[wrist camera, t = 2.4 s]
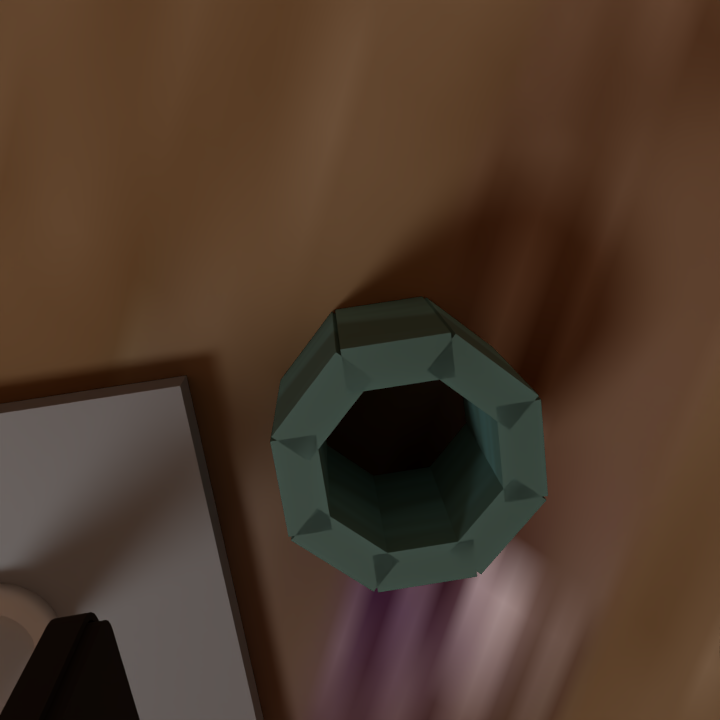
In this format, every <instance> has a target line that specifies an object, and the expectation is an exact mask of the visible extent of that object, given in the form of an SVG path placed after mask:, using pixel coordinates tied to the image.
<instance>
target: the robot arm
mask: <svg viewBox="0 0 720 720" xmlns="http://www.w3.org/2000/svg"><path fill="white" fill-rule="evenodd" d="M0 720H140V719H139V715H138V712H137V709H136V705H135V702H134V699H133V695H132V692H131V689H130V685H129V682H128V679H127V675H126V672H125V669H124V665H123V662H122V659H121V655H120V652H119V649H118V645H117V642H116V639H115V635H114V632H113V629H112V626H111V624H110V622H109V621H108V620H102V621H99V620H98V617H97V616H96V615H95V613H92V612H88V613H83V614H77V615H71V616H65V617H60V618H54V619H52V620H51V621H50V622H49V623H48V625H47V626H46V628H45V630H44V632H43V634H42V636H41V638H40V640H39V641H38V643H37V645H36V647H35V649H34V651H33V653H32V655H31V657H30V659H29V661H28V662H27V664H26V666H25V668H24V670H23V672H22V674H21V676H20V678H19V680H18V681H17V683H16V685H15V687H14V689H13V691H12V693H11V695H10V697H9V699H8V700H7V702H6V704H5V706H4V708H3V710H2V712H1V714H0Z"/></svg>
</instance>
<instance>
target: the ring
mask: <svg viewBox="0 0 720 720" xmlns="http://www.w3.org/2000/svg"><path fill="white" fill-rule="evenodd" d="M335 311H336V315H335V314H334V313H333V312H331V313H330V315H329V316H328V317H327V319H326V320H325V321H324V323H323V324H322V325H321V327H320V328H319V329H318V331H317V332H316V333H315V335H314V336H313V337H312V339H311V340H310V341H309V343H308V344H307V345H306V347H305V348H304V350H303V351H302V352H301V354H300V355H299V356H298V358H297V359H296V360H295V362H294V363H293V364H292V366H291V367H290V368H289V370H288V371H287V372H286V374H285V375H284V376H283V378H282V379H281V382H280V386H279V392H278V398H277V404H276V410H275V416H274V422H273V428H272V434H271V441H270V443H271V448H272V453H273V458H274V463H275V469H276V474H277V479H278V484H279V489H280V494H281V500H282V505H283V510H284V515H285V520H286V525H287V531H288V536H289V537H290V536H292V538H291V541H293V542H295V543H296V544H298V545H299V546H301V547H303V548H304V549H306V550H308V551H309V552H311V553H312V554H314V555H316V556H317V557H319V558H320V559H322V560H324V561H325V562H327V563H328V564H330V565H332V566H333V567H335V568H337V569H338V570H340V571H341V572H343V573H345V574H346V575H348V576H349V577H351V578H353V579H354V580H356V581H358V582H359V583H361V584H362V585H364V586H366V587H367V588H369V589H370V590H372V591H374V590H375V589H376V588H378V592H383V591H389V590H396V589H402V588H408V587H414V586H421V585H427V584H433V583H439V582H446V581H452V580H458V579H464V578H471V577H477V572H479V573H480V574H482V573H483V572H484V570H485V569H486V568H487V567H488V566H489V565H490V564H491V562H492V561H493V560H494V559H495V558H496V557H497V556H498V554H499V553H500V552H501V551H502V550H503V549H504V548H505V547H506V545H507V544H508V543H509V542H510V541H511V540H512V539H513V537H514V536H515V535H516V534H517V533H518V532H519V531H520V529H521V528H522V527H523V526H524V525H525V524H526V523H527V521H528V520H529V519H530V518H531V517H532V516H533V515H534V513H535V512H536V511H537V510H538V509H539V508H540V507H541V506H542V504H543V503H544V502H545V501H546V499H545V498H544V496H548V492H547V478H546V463H545V449H544V435H543V421H542V407H541V399H540V398H539V397H538V396H539V395H538V394H537V393H536V392H535V391H534V390H533V389H532V388H531V387H530V386H529V385H528V384H527V383H526V382H525V381H524V379H523V378H522V377H521V376H520V375H519V374H518V373H517V372H516V371H515V370H514V369H513V368H512V367H511V366H510V365H509V364H508V363H507V362H506V361H505V360H504V359H503V358H502V356H501V355H500V354H499V353H498V352H497V351H496V350H495V349H494V348H493V347H492V346H490V345H489V344H488V343H486V342H485V341H484V340H482V339H481V338H480V337H478V336H477V335H476V334H474V333H473V332H472V331H470V330H469V329H468V328H466V327H465V326H464V325H462V324H461V323H460V322H458V321H457V320H456V319H454V318H453V317H452V316H450V315H449V314H448V313H446V312H445V311H444V310H442V309H441V308H440V307H438V306H437V305H436V304H434V303H433V302H432V301H430V300H429V299H428V298H425V299H424V298H423V297H415V298H409V299H402V300H396V301H389V302H382V303H376V304H369V305H363V306H356V307H350V308H343V309H336V310H335ZM434 380H441V381H442V382H444V383H445V384H446V385H448V386H449V387H450V388H452V389H453V390H455V391H456V392H457V393H459V394H460V395H462V396H463V399H464V409H465V418H466V424H465V425H464V426H463V428H462V429H461V430H460V431H459V432H458V434H457V435H456V436H455V437H454V438H453V440H452V441H451V442H450V443H449V444H448V446H447V447H446V448H445V449H444V451H443V452H442V453H441V454H440V455H439V457H438V458H437V459H436V460H435V461H434V463H433V464H432V465H431V466H430V467H426V468H419V469H413V470H407V471H400V472H394V473H388V474H381V475H375V476H373V475H372V474H370V473H369V472H367V471H366V470H364V469H363V468H361V467H360V466H358V465H357V464H355V463H354V462H352V461H351V460H349V459H348V458H346V457H345V456H343V455H342V454H340V453H338V452H337V451H335V450H334V449H332V448H331V447H329V446H328V445H327V441H326V439H327V438H328V436H329V435H330V434H331V432H332V431H333V430H334V429H335V427H336V426H337V425H338V423H339V422H340V421H341V420H342V418H343V417H344V416H345V414H346V413H347V412H348V411H349V409H350V408H351V407H352V405H353V404H354V403H355V402H356V400H357V399H358V398H359V396H360V395H361V394H362V393H363V391H369V390H375V389H382V388H388V387H395V386H401V385H408V384H414V383H421V382H427V381H434ZM476 571H477V572H476Z"/></svg>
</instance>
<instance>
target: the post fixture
mask: <svg viewBox="0 0 720 720" xmlns="http://www.w3.org/2000/svg"><path fill="white" fill-rule="evenodd" d="M88 612H92V613H95V615H96V616H97V617H98V620H99V621H102V620H108V621H109V622H110V624H111V626H112V629H113V632H114V635H115V639H116V642H117V645H118V649H119V652H120V655H121V659H122V662H123V665H124V669H125V672H126V675H127V679H128V682H129V685H130V689H131V692H132V695H133V699H134V702H135V705H136V709H137V712H138V715H139V719H140V720H264V719H263V714H262V710H261V706H260V701H259V697H258V692H257V688H256V683H255V679H254V674H253V670H252V665H251V661H250V657H249V652H248V648H247V643H246V639H245V634H244V630H243V625H242V621H241V616H240V612H239V608H238V603H237V599H236V594H235V590H234V585H233V581H232V576H231V572H230V567H229V563H228V559H227V554H226V550H225V545H224V541H223V536H222V532H221V527H220V523H219V518H218V514H217V510H216V505H215V501H214V496H213V492H212V487H211V483H210V478H209V474H208V469H207V465H206V461H205V456H204V452H203V447H202V443H201V438H200V434H199V429H198V425H197V420H196V416H195V412H194V407H193V403H192V398H191V394H190V389H189V385H188V380H187V376H180V377H173V378H167V379H160V380H154V381H147V382H141V383H134V384H128V385H121V386H115V387H108V388H101V389H95V390H88V391H82V392H75V393H69V394H62V395H56V396H49V397H43V398H36V399H30V400H23V401H17V402H10V403H4V404H0V714H1V712H2V710H3V708H4V706H5V704H6V702H7V700H8V699H9V697H10V695H11V693H12V691H13V689H14V687H15V685H16V683H17V681H18V680H19V678H20V676H21V674H22V672H23V670H24V668H25V666H26V664H27V662H28V661H29V659H30V657H31V655H32V653H33V651H34V649H35V647H36V645H37V643H38V641H39V640H40V638H41V636H42V634H43V632H44V630H45V628H46V626H47V625H48V623H49V622H50V621H51V620H52V619H54V618H60V617H65V616H71V615H77V614H83V613H88Z"/></svg>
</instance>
